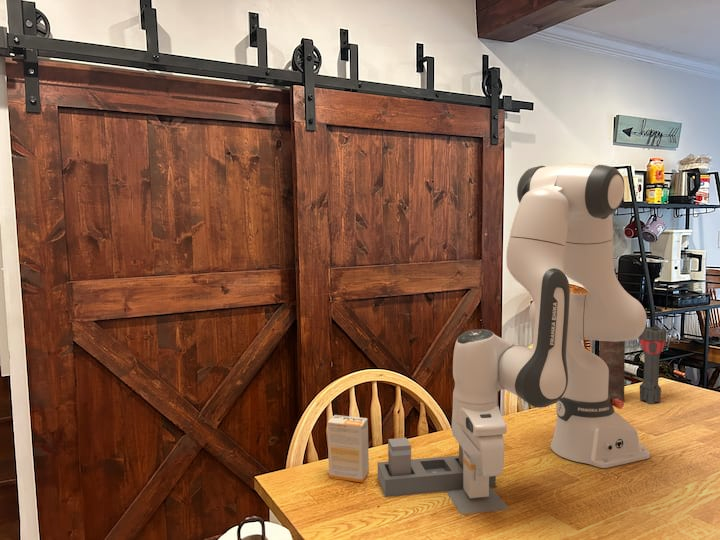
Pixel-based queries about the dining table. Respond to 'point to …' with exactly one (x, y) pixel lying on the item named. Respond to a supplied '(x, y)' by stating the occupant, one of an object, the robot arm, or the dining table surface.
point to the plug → (469, 482)
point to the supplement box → (348, 448)
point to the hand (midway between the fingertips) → (474, 475)
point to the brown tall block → (614, 366)
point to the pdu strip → (425, 477)
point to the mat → (476, 502)
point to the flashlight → (651, 363)
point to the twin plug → (399, 457)
